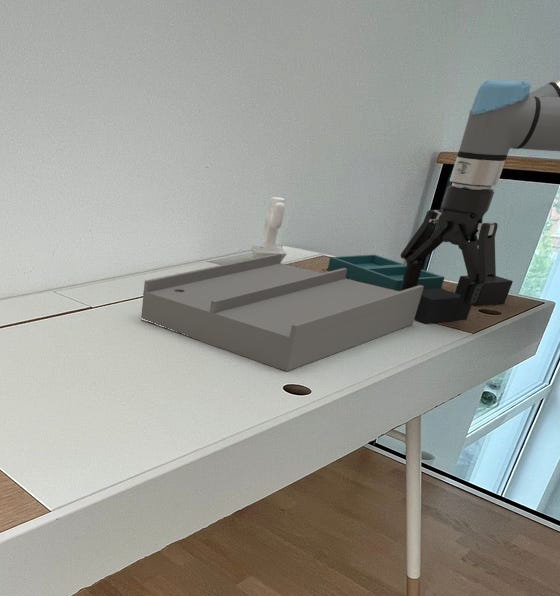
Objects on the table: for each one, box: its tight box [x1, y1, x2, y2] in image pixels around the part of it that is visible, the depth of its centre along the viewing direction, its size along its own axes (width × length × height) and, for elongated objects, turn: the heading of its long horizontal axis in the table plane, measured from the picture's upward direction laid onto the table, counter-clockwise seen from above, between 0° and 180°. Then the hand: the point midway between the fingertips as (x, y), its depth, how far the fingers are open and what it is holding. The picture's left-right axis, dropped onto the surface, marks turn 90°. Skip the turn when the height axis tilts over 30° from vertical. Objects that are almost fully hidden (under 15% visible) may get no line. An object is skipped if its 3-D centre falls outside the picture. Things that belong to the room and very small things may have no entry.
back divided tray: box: [327, 253, 445, 291], centre depth 152 cm, size 22×13×3 cm, turn 20°
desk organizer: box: [140, 253, 424, 372], centre depth 122 cm, size 32×40×7 cm
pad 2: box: [454, 275, 514, 307], centre depth 139 cm, size 6×8×4 cm
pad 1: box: [414, 288, 460, 325], centre depth 128 cm, size 6×8×4 cm
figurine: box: [250, 196, 287, 264], centre depth 157 cm, size 7×9×15 cm
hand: (431, 309), depth 128 cm, fingers open, 13 cm apart
